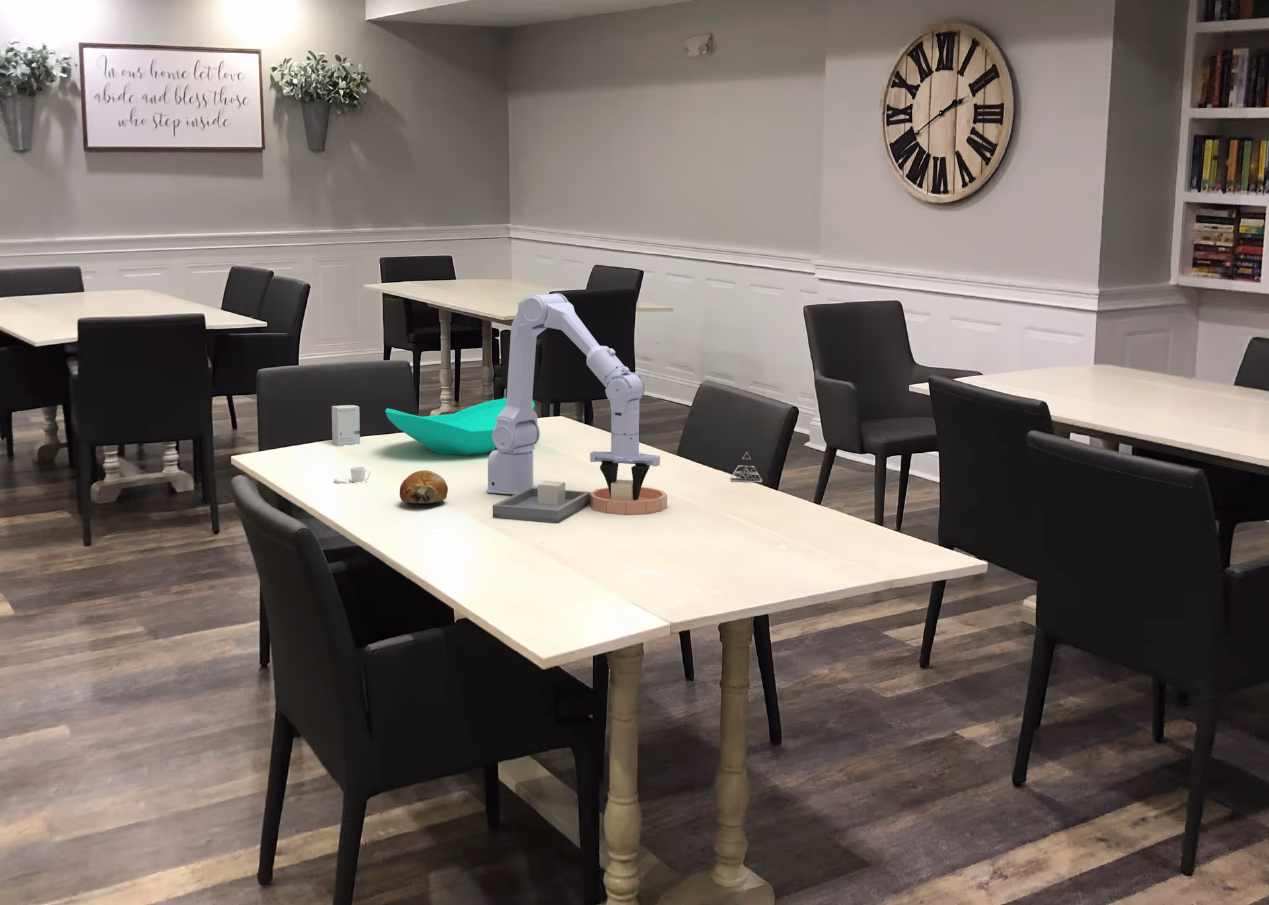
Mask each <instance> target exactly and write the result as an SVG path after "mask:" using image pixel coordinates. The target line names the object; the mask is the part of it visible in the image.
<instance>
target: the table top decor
mask: <svg viewBox="0 0 1269 905" xmlns="http://www.w3.org/2000/svg"><path fill="white" fill-rule="evenodd" d="M506 400H507V397H506V398H500V399H494V400H488V401H485V402H482V403H479V404H478V403H477V404H476V405H472V406H469V407H466V408H464V409H462V410H459V411H457V412H454V413H450V414H448V413H447V414H439V415H438V414H437V415H429V416H427V415H426V416H419V415H415V414H410V413H407V412H403V411H399V410H396V409H392V408H386V409H385V410H384V411H385V414H386V417H387V419H388V420H389V421H390V422H391V423H392V424H393V425H394V426H395V427H396V428H398V429H399V430H400V431H401V432H403V433H404V434H406V435H407V436H409V437H410V438H412V439H413V440H415V441H417V442H418V443H420V444H421V445H423V446H424V447H425V448H427V449H429V450H431V451H432V452H434V453H437V454H441V453H443V454H442V455H460V454H461V455H462V456H467V455H468V456H475V455H476V456H477V455H483V454H488V453H489V454H490V453H491V452H492V451H494V450H496V449H497V448H496V446H495V444H494V442H493V437H492V435H493V430H494V428H495V426H496V424H497V417H498V415H499V414H500V413H501V412H502V411H503V409H504V408H505V407H506ZM535 406H536V404H535V402H534V400H532V409H533V410H535V409H534V408H535Z"/></svg>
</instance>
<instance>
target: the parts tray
mask: <svg viewBox="0 0 1269 905" xmlns="http://www.w3.org/2000/svg"><path fill="white" fill-rule="evenodd" d="M591 492H592V491H582V490H581V491H580V490H571V489H570V490H569V489H565V501H564V502H562V503H561V504H559V505H550V504H538V488H533V487H529V488H527V489H525V490H523V491H521V492H519V493H517V494H515V495H514V494H512V495H511V496H508V497H507V498H504V499H502V500H500V501H499V502H497V503H494V504H493V505H492V518H496V519H504V520H505V519H506V520H507V519H508V520H518V521H519V520H520V521H530V522H543V523H551V524H552V523H554V524H559V523H561V522H563V521H564V520H565V519H568V518H570V517H571V516H573V515H574V514H576V513H578V512H579V511H582V510H583V509H586V508H587V507H588V506H590V493H591Z"/></svg>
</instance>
